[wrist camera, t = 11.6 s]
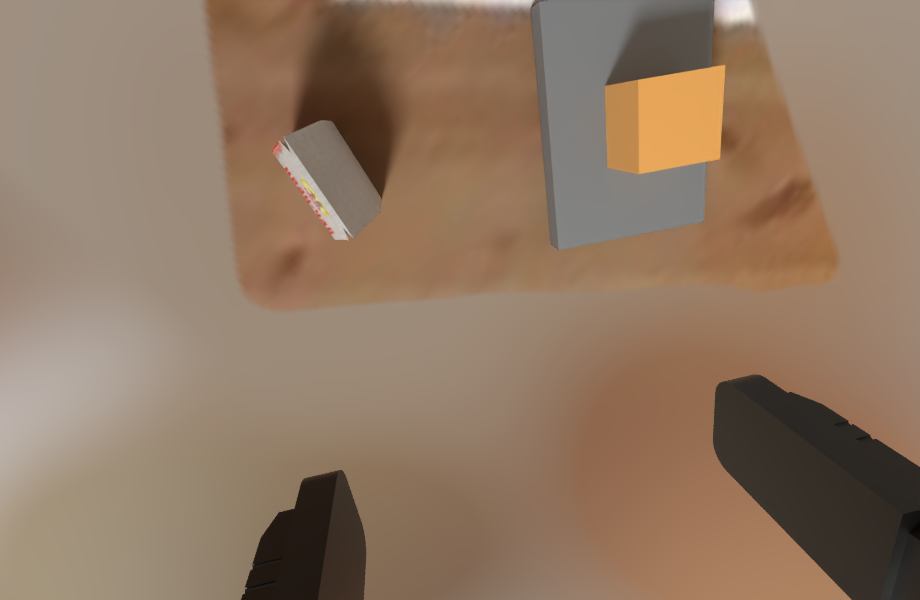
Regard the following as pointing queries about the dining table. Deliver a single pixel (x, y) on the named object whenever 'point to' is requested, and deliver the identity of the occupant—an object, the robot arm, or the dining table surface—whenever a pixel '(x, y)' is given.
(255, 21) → the dining table surface
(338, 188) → the grey cardboard box
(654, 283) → the dining table surface
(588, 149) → the board
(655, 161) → the matte orange cube
